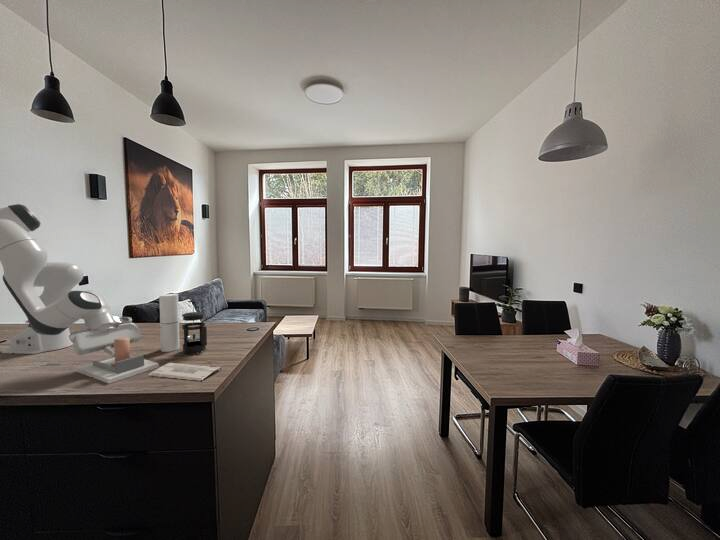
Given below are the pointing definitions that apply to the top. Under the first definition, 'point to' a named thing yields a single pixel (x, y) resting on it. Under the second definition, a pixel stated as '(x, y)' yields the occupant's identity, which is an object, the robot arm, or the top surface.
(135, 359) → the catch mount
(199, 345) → the french press
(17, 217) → the robot arm
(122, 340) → the knob plunger
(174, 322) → the cylindrical container
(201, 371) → the newspaper
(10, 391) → the top surface
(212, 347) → the top surface
